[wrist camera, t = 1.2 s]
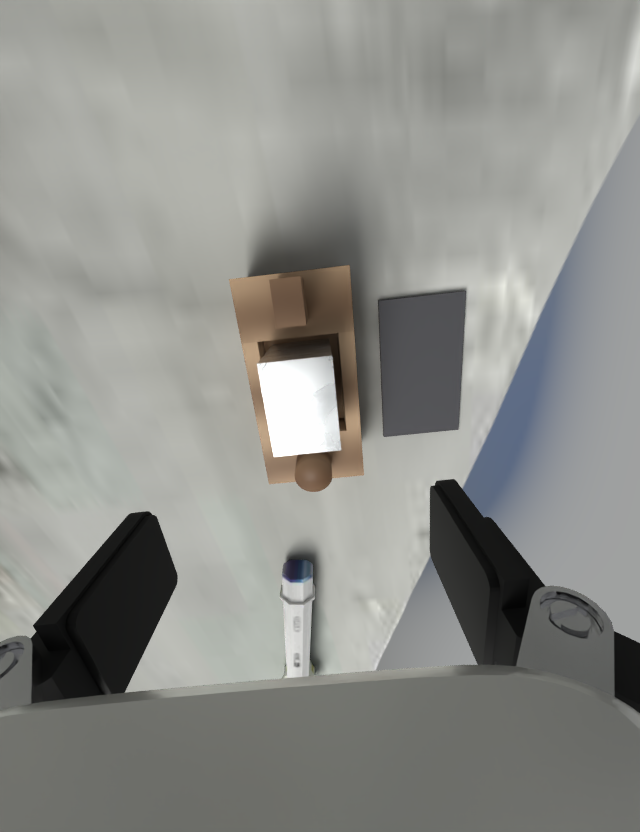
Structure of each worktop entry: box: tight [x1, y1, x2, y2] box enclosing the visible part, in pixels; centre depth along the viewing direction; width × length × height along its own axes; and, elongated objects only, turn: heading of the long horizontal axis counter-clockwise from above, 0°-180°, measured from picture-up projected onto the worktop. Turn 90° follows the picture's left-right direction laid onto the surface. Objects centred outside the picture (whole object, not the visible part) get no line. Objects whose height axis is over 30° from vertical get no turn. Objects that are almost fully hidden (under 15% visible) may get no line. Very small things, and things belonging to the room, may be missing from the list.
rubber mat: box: [378, 291, 466, 437], centre depth 32 cm, size 14×8×1 cm, turn 6°
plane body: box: [229, 265, 364, 492], centre depth 28 cm, size 18×9×10 cm, turn 6°
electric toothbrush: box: [280, 560, 315, 679], centre depth 44 cm, size 5×7×25 cm
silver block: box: [257, 338, 341, 457], centre depth 26 cm, size 7×5×8 cm
